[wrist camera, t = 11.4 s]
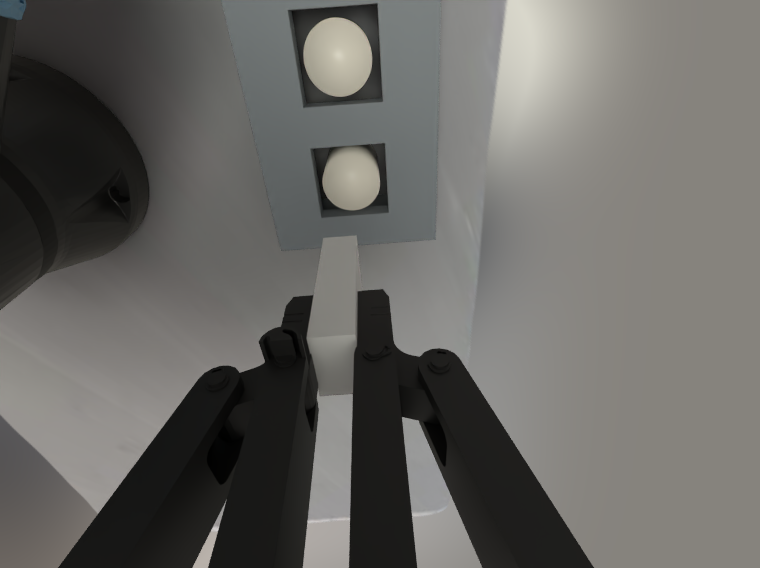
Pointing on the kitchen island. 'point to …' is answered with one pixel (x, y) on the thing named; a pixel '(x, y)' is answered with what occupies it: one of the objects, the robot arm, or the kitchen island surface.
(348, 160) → the ivory egg
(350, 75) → the cream egg
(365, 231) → the grey socket block
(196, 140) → the kitchen island surface
